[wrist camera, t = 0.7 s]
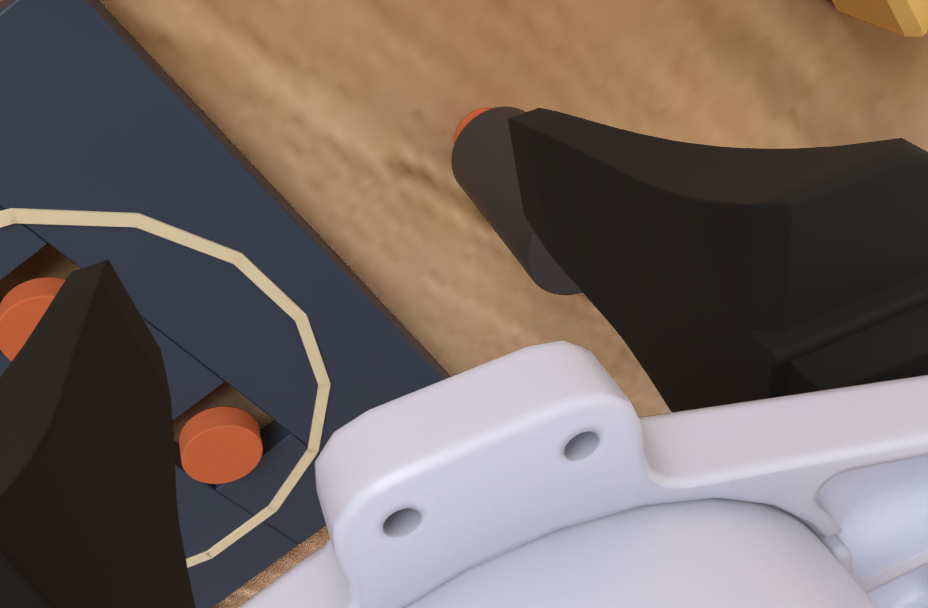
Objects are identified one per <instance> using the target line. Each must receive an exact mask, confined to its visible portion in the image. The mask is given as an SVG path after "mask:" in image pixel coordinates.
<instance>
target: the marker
mask: <svg viewBox="0 0 928 608" xmlns="http://www.w3.org/2000/svg"><path fill="white" fill-rule="evenodd" d="M523 113H526V112H524V111H523V110H520V109H517V108H513V107H497V108H482V109H478V110H475V111H473V112H471V113H470V114H468V115H467V116H466V117H465V118H464V119H463V120H462V121H461V123H460V124H459V126H458V127H457V130H456V132H455V136H454V147H453V152H452V170H453V174H454V176H455V178H456V180H457V182H458V184H459V185H460V186H461V187H462V189H463V190H464V191H465V193H466V194H467V195H468V197H469V198H470V199H471V200H472V202H473V203H474V204H475V206H476V207H477V208H478V209H479V211H480V212H481V213H482V215H483V216H484V217H485V219H486V220H487V221H488V222H489V224H490V225H491V226H492V228H493V229H494V230H495V232H496V233H497V234H498V235H499V237H500V238H501V239H502V241H503V242H504V243H505V244H506V246H507V247H508V248H509V250H510V251H511V252H512V254H513V255H514V256H515V257H516V259H517V260H518V261H519V263H520V264H521V265H522V267H523V268H524V269H525V270H526V272H527V273H528V274H529V276H530V277H531V278H532V279H533V281H534V282H535V283H536V284H537V285H538V286H539V287H540V288H542V289H544V290H545V291H548V292H550V293H553V294H558V295H573V294H579V293H582V291H581V290H580V289H579V288H578V286H577V285H576V284H575V283H574V282H573V281H572V280H571V279H570V277H569V276H568V275H567V274H566V273H565V272H564V271H563V269H562V268H561V267H560V266H559V265H558V264H557V262H556V261H555V260H554V259H553V258H552V257H551V255H550V254H549V253H548V252H547V250H546V249H545V247H544V246H543V244H542V243H541V241H540V240H539V238H538V237H537V235H536V233H535V232H534V230H533V228H532V227H531V225H530V224H529V222H528V220H527V219H526V217H525V215H524V213H523V207H522V201H521V195H520V189H519V183H518V178H517V172H516V166H515V160H514V154H513V148H512V142H511V136H510V130H509V125H508V119H509V118H512V117H515V116H518V115H520V114H523Z"/></svg>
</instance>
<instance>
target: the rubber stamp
mask: <svg viewBox="0 0 928 608" xmlns="http://www.w3.org/2000/svg"><path fill="white" fill-rule="evenodd" d="M832 2H833V4H834V5H835V7H836V9H837V10H838V11H840V12H843V13H845V14H848V15H850V16H853V17H856V18H858V19H861V20H863V21H866V22H868V23H871V24H873V25H876V26H878V27H881V28H883V29H886V30H888V31H891V32H893V33H896V34H898V35H901V36H907V37H923V36H924V35H925V34H926V33H927V32H928V0H832Z"/></svg>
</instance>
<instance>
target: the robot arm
mask: <svg viewBox="0 0 928 608" xmlns="http://www.w3.org/2000/svg"><path fill="white" fill-rule="evenodd" d="M508 125H509V130H510V136H511V142H512V148H513V154H514V160H515V166H516V172H517V178H518V183H519V189H520V195H521V201H522V207H523V213H524V215H525V217H526V219H527V220H528V222H529V224H530V225H531V227H532V228H533V230H534V232H535V233H536V235H537V237H538V238H539V240H540V241H541V243H542V244H543V246H544V247H545V249H546V250H547V252H548V253H549V254H550V255H551V257H552V258H553V259H554V260H555V261H556V262H557V264H558V265H559V266H560V267H561V268H562V269H563V271H564V272H565V273H566V274H567V275H568V276H569V277H570V279H571V280H572V281H573V282H574V283H575V284H576V285H577V286H578V288H579V289H580V290H581V291H582V292H583V293H584V294H585V295H586V297H587V298H588V299H589V300H590V301H591V302H592V303H593V305H594V306H595V307H596V308H597V309H598V310H599V311H600V312H601V314H602V315H603V316H604V317H605V318H606V319H607V320H608V321H609V323H610V324H611V325H612V326H613V327H614V329H615V330H616V331H617V332H618V334H619V335H620V336H621V337H622V339H623V340H624V341H625V343H626V344H627V345H628V347H629V348H630V350H631V351H632V353H633V354H634V356H635V357H636V359H637V360H638V362H639V363H640V364H641V366H642V367H643V369H644V370H645V372H646V373H647V375H648V376H649V378H650V379H651V381H652V382H653V384H654V385H655V387H656V388H657V390H658V392H659V393H660V395H661V396H662V398H663V399H664V401H665V402H666V404H667V405H668V407H669V409H670V410H671V412H672V413H666V414H659V415H653V416H646V417H639V418H638V416H637V414H636V412H635V410H634V408H633V406H632V404H631V402H630V401H629V399H628V398H627V397H626V396H625V394H624V393H623V392H622V390H621V389H620V388H619V387H618V385H617V384H616V383H615V381H614V380H613V379H612V378H611V376H610V375H609V374H608V372H607V371H606V370H605V369H604V367H603V366H602V365H601V363H600V362H599V361H598V360H597V358H596V357H595V356H594V354H593V353H592V352H591V351H590V350H589V349H586V348H583V347H580V346H577V345H575V344H572V343H569V342H566V341H564V340H561V341H555V342H550V343H544V344H539V345H533V346H527V347H525V348H522V349H520V350H517V351H515V352H512V353H510V354H507V355H505V356H502V357H500V358H497V359H495V360H492V361H490V362H487V363H485V364H482V365H480V366H477V367H475V368H472V369H470V370H467V371H465V372H462V373H460V374H457V375H455V376H452V377H450V378H447V379H445V380H442V381H440V382H437V383H435V384H432V385H430V386H427V387H425V388H422V389H420V390H417V391H415V392H412V393H410V394H407V395H405V396H402V397H400V398H397V399H395V400H392V401H390V402H387V403H385V404H382V405H380V406H377V407H375V408H372V409H370V410H368V411H366V412H365V413H363V414H361V415H360V416H358V417H357V418H355V419H354V420H352V421H350V422H349V423H347V424H346V425H344V426H343V427H341V428H340V429H338V430H336V431H335V432H334V433H333V434H332V436H331V437H330V439H329V440H328V442H327V444H326V445H325V447H324V448H323V450H322V451H321V453H320V455H319V456H318V458H317V459H316V461H315V475H316V490H317V494H318V498H319V501H320V505H321V508H322V512H323V515H324V519H325V522H326V526H327V529H328V533H329V536H330V539H329V541H328V542H327V543H325V544H324V545H323V546H321V547H320V548H319V549H317V550H316V551H314V552H313V553H312V554H310V555H309V556H308V557H306V558H305V559H303V560H302V561H301V562H299V563H298V564H297V565H295V566H294V567H292V568H291V569H290V570H288V571H287V572H286V573H284V574H283V575H281V576H280V577H279V578H277V579H276V580H275V581H273V582H272V583H270V584H269V585H268V586H266V587H265V588H264V589H262V590H261V591H259V592H258V593H257V594H255V595H254V596H253V597H251V598H250V599H248V600H247V601H246V602H244V603H243V604H241V605H240V606H239V607H237V608H928V152H927V151H925V150H923V149H921V148H919V147H917V146H916V145H914V144H912V143H910V142H908V141H906V140H905V139H902V138H898V139H891V140H883V141H875V142H867V143H859V144H851V145H844V146H833V147H816V148H799V149H755V148H731V147H718V146H709V145H701V144H692V143H685V142H678V141H672V140H667V139H662V138H657V137H652V136H647V135H643V134H638V133H634V132H630V131H626V130H622V129H618V128H614V127H611V126H607V125H603V124H600V123H596V122H593V121H589V120H585V119H582V118H578V117H575V116H571V115H568V114H564V113H560V112H556V111H552V110H548V109H542V108H538V109H535V110H532V111H529V112H526V113H523V114H520V115H518V116H515V117H512V118H509V119H508ZM0 608H196V607H195V602H194V597H193V592H192V587H191V582H190V578H189V573H188V568H187V562H186V557H185V551H184V546H183V540H182V535H181V530H180V524H179V516H178V507H177V494H176V475H175V456H174V437H173V420H172V405H171V394H170V390H169V385H168V380H167V375H166V371H165V366H164V362H163V358H162V353H161V349H160V347H159V346H158V344H157V342H156V341H155V339H154V337H153V335H152V334H151V332H150V330H149V328H148V327H147V325H146V323H145V322H144V320H143V318H142V316H141V315H140V313H139V311H138V310H137V308H136V306H135V304H134V303H133V301H132V299H131V297H130V296H129V294H128V292H127V291H126V289H125V287H124V285H123V284H122V282H121V280H120V278H119V277H118V275H117V273H116V272H115V270H114V268H113V266H112V265H111V263H110V261H109V259H108V260H105V261H102V262H99V263H96V264H93V265H91V266H88V267H85V268H82V269H79V270H76V271H73V272H71V274H70V275H69V276H68V278H67V279H66V280H65V282H64V283H63V285H62V286H61V288H60V289H59V291H58V292H57V294H56V296H55V297H54V299H53V300H52V302H51V304H50V305H49V307H48V308H47V310H46V312H45V313H44V315H43V316H42V318H41V319H40V321H39V322H38V324H37V325H36V327H35V329H34V330H33V332H32V333H31V335H30V336H29V338H28V339H27V341H26V342H25V344H24V345H23V347H22V348H21V349H20V351H19V352H18V354H17V355H16V356H15V358H14V359H13V360H12V362H11V363H10V364H9V366H8V367H7V369H6V370H5V371H4V373H3V374H2V375H1V377H0Z"/></svg>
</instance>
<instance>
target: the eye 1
mask: <svg viewBox="0 0 928 608" xmlns="http://www.w3.org/2000/svg"><path fill="white" fill-rule="evenodd" d="M65 280H66V279H62V278H54V277H44V278H36V279H32V280H29V281H26V282H23V283H21V284H19V285H18V286H16V287H15V288H13V289H12V290H11V291H10V292H8V293H7V295H6V296H5V297H4V299H3V300H2V302H1V304H0V350H1V351H2V352H3V354H4V355H5V356H6V357H7V358H8V359H9V360H11V361H12V360H13V359H14V358H15V356H16V355H17V354H18V352H19V351H20V349H21V348H22V347H23V345H24V344H25V342H26V341H27V339H28V338H29V336H30V335H31V333H32V332H33V330H34V329H35V327H36V325H37V324H38V322H39V321H40V319H41V318H42V316H43V315H44V313H45V312H46V310H47V308H48V307H49V305H50V304H51V302H52V300H53V299H54V297H55V296H56V294H57V292H58V291H59V289H60V288H61V286H62V285H63V283H64V282H65Z"/></svg>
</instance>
